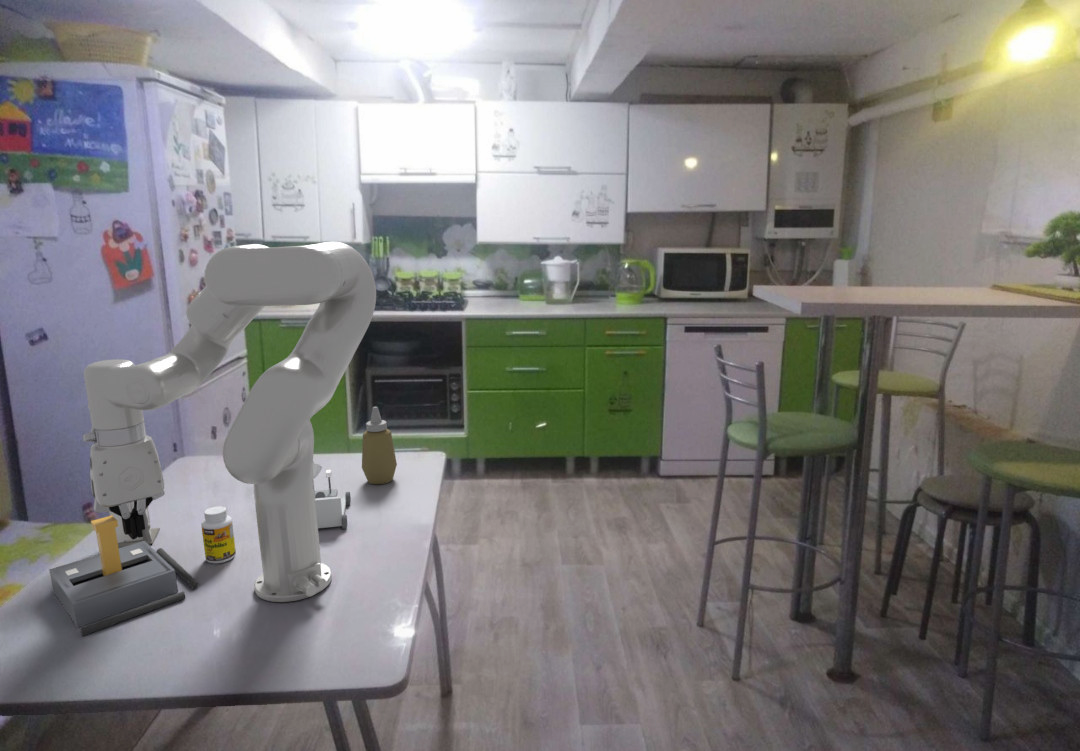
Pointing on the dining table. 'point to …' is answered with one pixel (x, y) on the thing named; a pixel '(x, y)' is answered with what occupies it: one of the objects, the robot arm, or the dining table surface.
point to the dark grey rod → (178, 568)
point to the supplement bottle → (218, 535)
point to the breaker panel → (112, 583)
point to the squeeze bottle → (378, 451)
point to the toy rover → (330, 504)
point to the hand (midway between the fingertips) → (135, 535)
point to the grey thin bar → (132, 613)
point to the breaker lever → (107, 544)
